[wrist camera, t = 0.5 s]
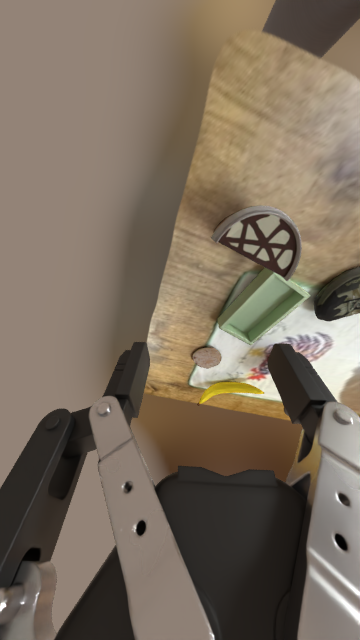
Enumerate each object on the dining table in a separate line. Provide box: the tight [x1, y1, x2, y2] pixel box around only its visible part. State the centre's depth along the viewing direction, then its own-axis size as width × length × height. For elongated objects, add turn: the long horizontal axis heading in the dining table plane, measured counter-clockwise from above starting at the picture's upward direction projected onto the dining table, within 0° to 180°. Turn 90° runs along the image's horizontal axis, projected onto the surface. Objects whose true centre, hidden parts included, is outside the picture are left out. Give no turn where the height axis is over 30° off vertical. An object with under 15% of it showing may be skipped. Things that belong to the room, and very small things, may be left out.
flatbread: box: [193, 348, 221, 369], centre depth 47 cm, size 8×8×1 cm
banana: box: [198, 382, 264, 405], centre depth 51 cm, size 3×19×6 cm, turn 106°
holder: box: [217, 267, 310, 345], centre depth 36 cm, size 15×9×4 cm, turn 149°
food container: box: [211, 206, 302, 281], centre depth 25 cm, size 12×6×10 cm, turn 65°
